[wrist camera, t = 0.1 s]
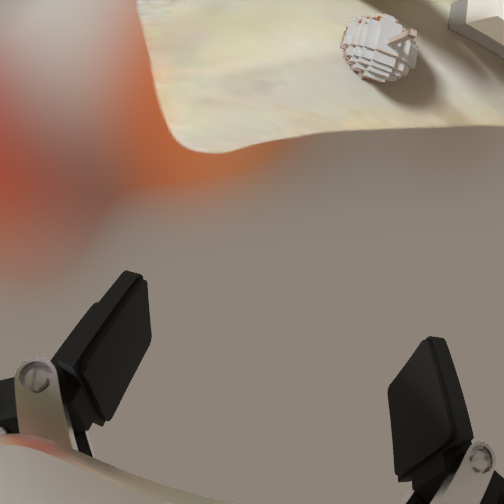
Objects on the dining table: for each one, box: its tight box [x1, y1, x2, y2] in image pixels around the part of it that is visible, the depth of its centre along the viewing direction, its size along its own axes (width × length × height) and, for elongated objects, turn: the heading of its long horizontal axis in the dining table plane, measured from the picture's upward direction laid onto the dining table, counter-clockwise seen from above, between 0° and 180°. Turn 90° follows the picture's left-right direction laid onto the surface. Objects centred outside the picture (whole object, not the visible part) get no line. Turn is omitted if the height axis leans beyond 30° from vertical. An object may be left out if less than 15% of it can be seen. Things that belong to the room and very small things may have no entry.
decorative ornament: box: [340, 13, 419, 82], centre depth 22 cm, size 8×8×15 cm
